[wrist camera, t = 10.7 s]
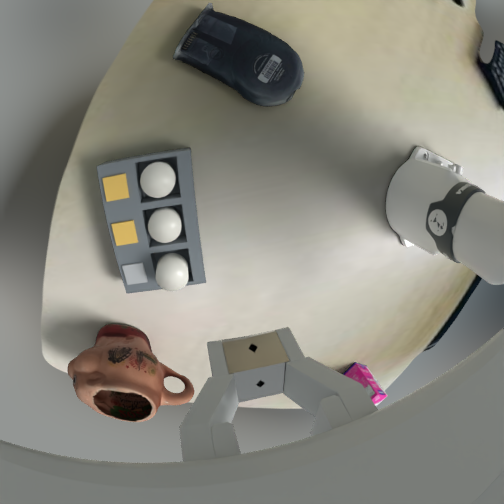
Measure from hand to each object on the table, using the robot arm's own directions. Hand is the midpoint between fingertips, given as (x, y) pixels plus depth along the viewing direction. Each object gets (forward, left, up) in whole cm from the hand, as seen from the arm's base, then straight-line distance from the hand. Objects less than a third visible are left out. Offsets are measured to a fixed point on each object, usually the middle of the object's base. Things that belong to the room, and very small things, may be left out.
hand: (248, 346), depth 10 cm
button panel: (+7, +3, -27) cm, 28 cm away
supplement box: (-31, +48, -27) cm, 63 cm away
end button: (+5, -2, -26) cm, 26 cm away
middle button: (+5, +4, -26) cm, 27 cm away
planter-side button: (+5, +9, -24) cm, 26 cm away
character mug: (+15, +24, -27) cm, 40 cm away
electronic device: (-6, -16, -28) cm, 33 cm away
